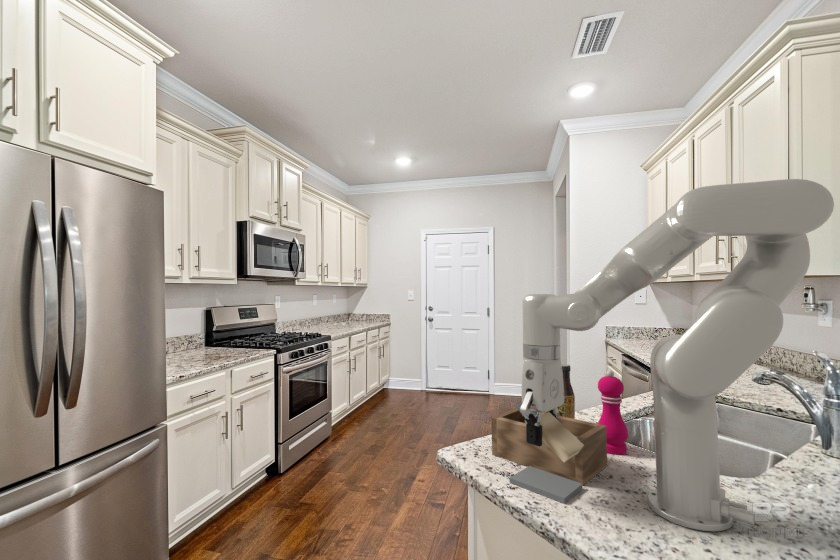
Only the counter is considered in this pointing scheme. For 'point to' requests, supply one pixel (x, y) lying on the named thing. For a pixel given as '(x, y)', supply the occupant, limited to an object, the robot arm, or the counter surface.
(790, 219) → the robot arm
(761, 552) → the counter surface
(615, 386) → the pepper mill
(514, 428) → the wooden box
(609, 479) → the counter surface
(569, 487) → the slate board
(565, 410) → the sauce bottle
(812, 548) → the counter surface
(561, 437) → the maple block
